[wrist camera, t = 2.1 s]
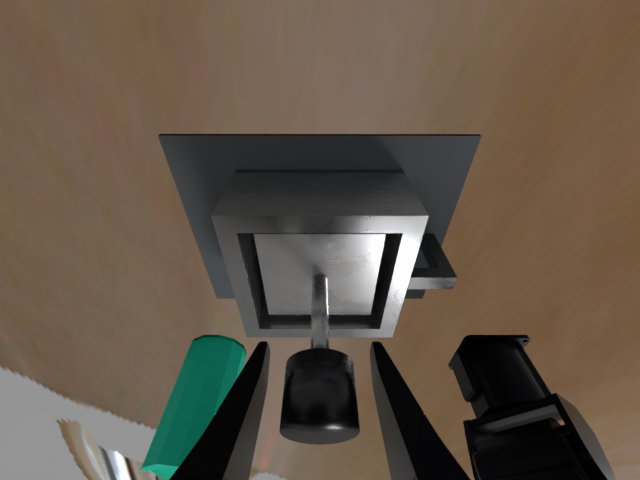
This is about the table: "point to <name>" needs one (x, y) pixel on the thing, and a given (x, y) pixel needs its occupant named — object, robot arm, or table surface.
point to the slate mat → (314, 154)
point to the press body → (327, 217)
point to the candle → (194, 400)
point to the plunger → (319, 324)
